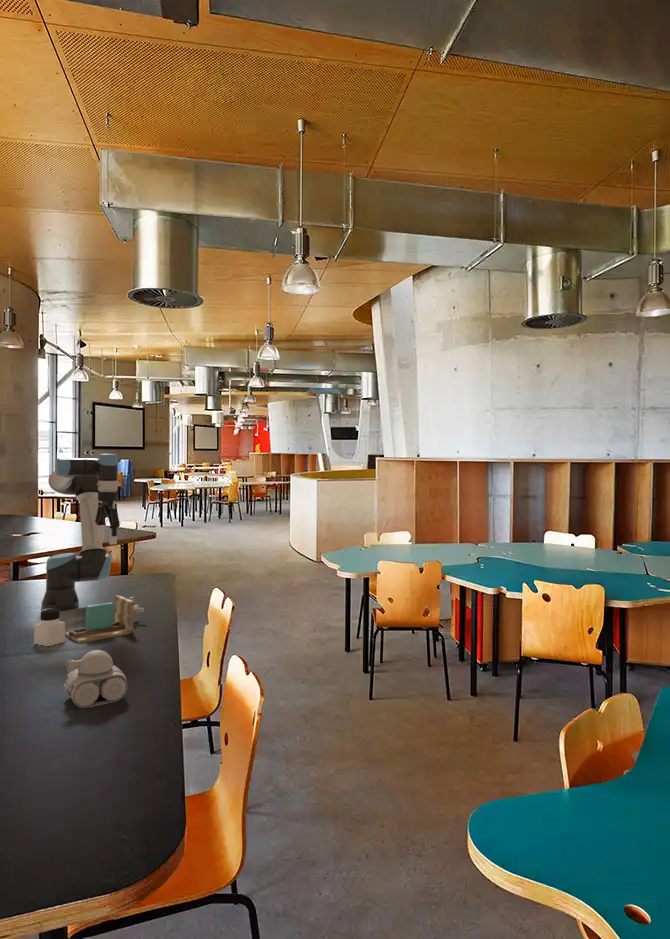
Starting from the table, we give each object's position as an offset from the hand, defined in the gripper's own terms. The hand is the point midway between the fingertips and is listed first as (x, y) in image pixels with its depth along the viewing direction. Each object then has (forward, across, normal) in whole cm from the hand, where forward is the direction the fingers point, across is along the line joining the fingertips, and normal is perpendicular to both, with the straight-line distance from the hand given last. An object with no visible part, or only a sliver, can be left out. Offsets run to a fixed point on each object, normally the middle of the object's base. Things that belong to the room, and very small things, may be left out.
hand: (106, 542), depth 240 cm
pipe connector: (+31, +13, +5) cm, 34 cm away
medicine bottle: (+31, +22, -28) cm, 48 cm away
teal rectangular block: (+30, +22, -11) cm, 39 cm away
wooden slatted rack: (+31, +22, -11) cm, 40 cm away
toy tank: (+31, +83, -34) cm, 95 cm away
